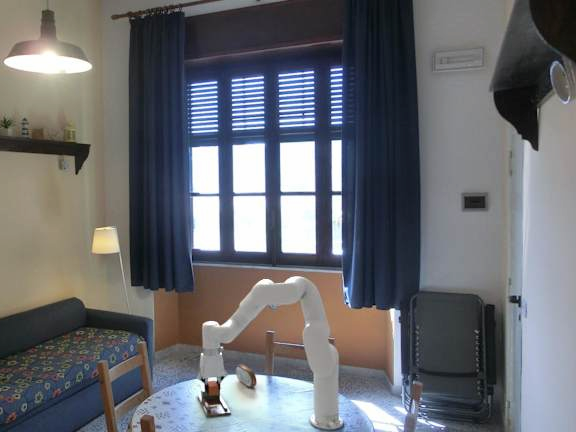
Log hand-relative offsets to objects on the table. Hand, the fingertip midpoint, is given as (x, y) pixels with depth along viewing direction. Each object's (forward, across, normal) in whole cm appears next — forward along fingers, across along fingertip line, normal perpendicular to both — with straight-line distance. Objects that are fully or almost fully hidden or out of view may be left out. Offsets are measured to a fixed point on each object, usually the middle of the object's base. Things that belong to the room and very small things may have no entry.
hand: (212, 391), depth 217 cm
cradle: (+6, 0, +1) cm, 6 cm away
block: (0, 0, 0) cm, 0 cm away
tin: (+6, -20, -17) cm, 27 cm away
